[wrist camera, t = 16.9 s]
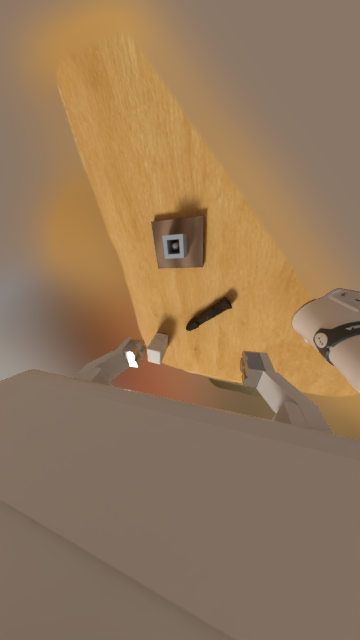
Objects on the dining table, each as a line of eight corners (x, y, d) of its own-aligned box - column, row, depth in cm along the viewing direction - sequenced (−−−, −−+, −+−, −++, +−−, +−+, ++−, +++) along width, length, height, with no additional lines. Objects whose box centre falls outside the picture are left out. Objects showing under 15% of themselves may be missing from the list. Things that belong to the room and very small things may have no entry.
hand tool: (225, 294, 43) (226, 300, 39) (232, 304, 44) (233, 310, 41) (182, 320, 53) (180, 326, 49) (188, 327, 54) (186, 334, 50)
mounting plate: (204, 216, 33) (202, 213, 29) (202, 266, 40) (201, 270, 35) (153, 222, 37) (145, 220, 32) (160, 267, 43) (153, 271, 39)
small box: (156, 331, 59) (146, 348, 51) (168, 334, 58) (160, 351, 50) (157, 344, 64) (147, 361, 55) (167, 347, 63) (160, 364, 54)
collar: (186, 233, 35) (182, 233, 31) (187, 255, 38) (183, 257, 34) (168, 235, 36) (162, 235, 32) (170, 256, 39) (164, 258, 35)
